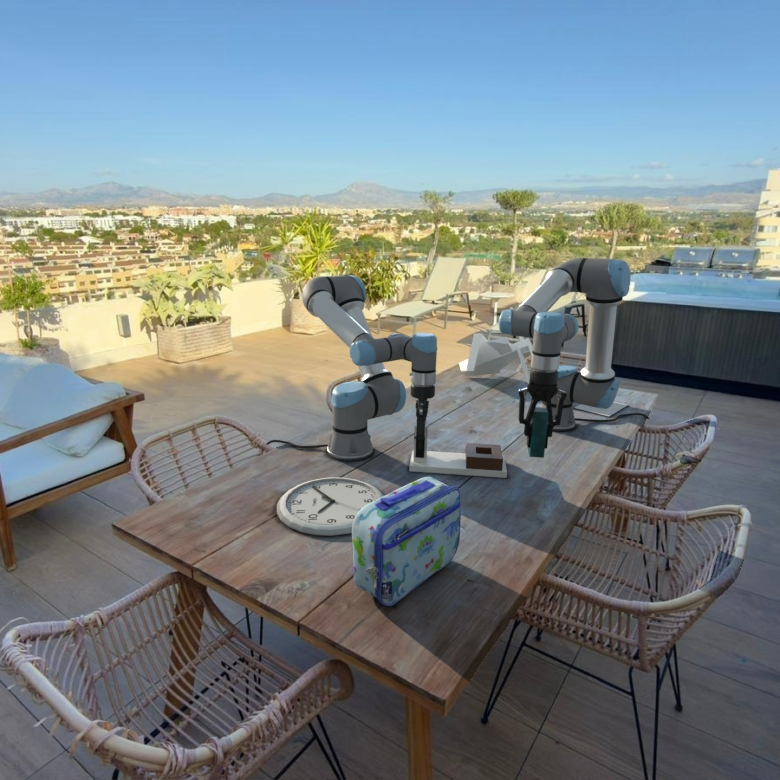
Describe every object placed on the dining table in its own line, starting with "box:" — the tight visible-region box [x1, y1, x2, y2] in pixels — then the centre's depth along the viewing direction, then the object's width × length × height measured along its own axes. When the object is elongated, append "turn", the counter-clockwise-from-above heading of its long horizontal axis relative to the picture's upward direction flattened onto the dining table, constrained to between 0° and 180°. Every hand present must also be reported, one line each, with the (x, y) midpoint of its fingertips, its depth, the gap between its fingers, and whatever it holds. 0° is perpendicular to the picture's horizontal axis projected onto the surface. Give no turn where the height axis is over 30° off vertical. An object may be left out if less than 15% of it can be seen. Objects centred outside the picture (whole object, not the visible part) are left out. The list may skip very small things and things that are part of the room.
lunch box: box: [351, 476, 462, 607], centre depth 111 cm, size 26×11×21 cm, turn 135°
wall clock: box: [276, 476, 385, 537], centre depth 142 cm, size 30×2×30 cm
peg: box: [527, 406, 549, 459], centre depth 151 cm, size 4×4×14 cm
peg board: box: [408, 419, 508, 479], centre depth 165 cm, size 30×12×14 cm, turn 83°
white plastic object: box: [458, 306, 533, 385], centre depth 259 cm, size 37×45×31 cm
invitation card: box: [573, 401, 629, 418], centre depth 226 cm, size 21×1×15 cm
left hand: (420, 452), depth 168 cm, fingers closed on peg board, 6 cm apart
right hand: (536, 446), depth 152 cm, fingers closed on peg, 4 cm apart
